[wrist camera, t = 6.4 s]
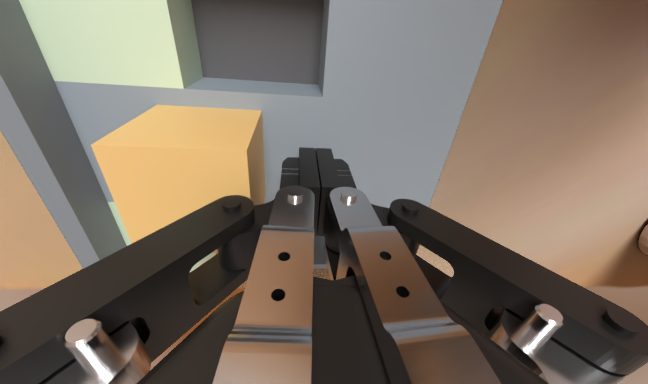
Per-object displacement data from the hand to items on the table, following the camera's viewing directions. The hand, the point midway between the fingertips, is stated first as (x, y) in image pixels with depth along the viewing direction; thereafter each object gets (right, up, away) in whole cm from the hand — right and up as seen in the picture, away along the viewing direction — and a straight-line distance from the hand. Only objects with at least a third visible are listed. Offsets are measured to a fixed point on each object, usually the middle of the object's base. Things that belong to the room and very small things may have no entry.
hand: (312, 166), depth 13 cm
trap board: (-3, +2, +3) cm, 5 cm away
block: (-5, +1, 0) cm, 5 cm away
